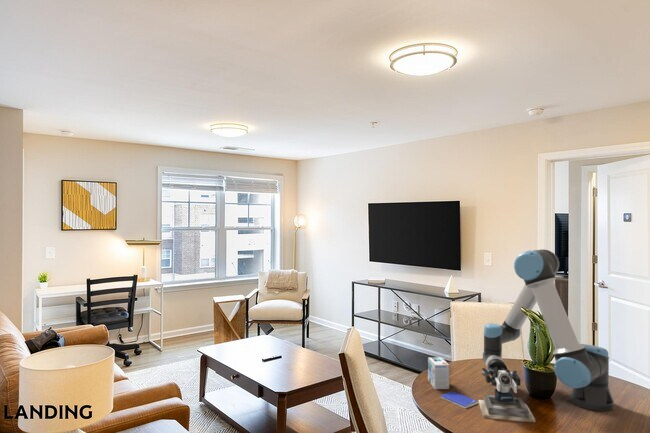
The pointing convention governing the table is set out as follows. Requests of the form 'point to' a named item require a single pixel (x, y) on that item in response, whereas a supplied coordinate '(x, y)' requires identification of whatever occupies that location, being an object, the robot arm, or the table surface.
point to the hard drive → (459, 399)
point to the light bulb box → (438, 373)
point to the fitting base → (505, 409)
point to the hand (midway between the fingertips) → (507, 388)
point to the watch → (504, 387)
